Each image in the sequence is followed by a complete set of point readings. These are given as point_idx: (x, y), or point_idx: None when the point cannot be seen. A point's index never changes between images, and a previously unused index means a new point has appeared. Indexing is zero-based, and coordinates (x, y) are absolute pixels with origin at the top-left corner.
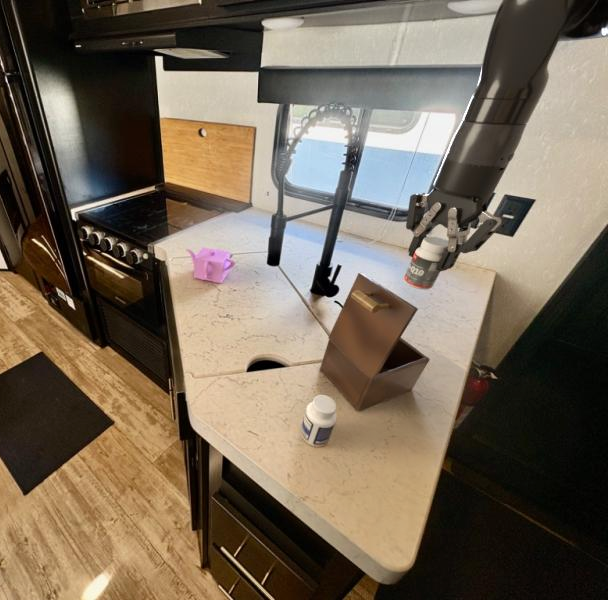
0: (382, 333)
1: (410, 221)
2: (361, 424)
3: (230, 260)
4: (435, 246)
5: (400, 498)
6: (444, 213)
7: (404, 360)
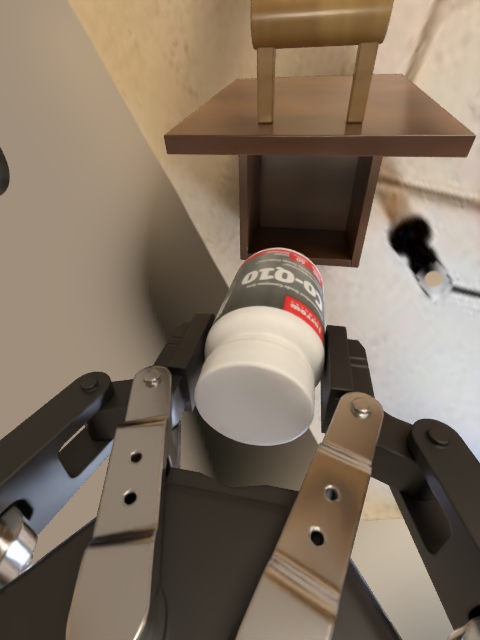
0: (249, 101)
1: (453, 469)
2: (232, 72)
3: None
4: (219, 363)
5: (112, 27)
6: (219, 583)
7: (278, 242)
